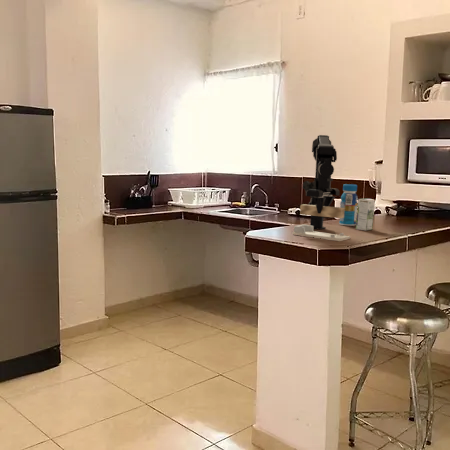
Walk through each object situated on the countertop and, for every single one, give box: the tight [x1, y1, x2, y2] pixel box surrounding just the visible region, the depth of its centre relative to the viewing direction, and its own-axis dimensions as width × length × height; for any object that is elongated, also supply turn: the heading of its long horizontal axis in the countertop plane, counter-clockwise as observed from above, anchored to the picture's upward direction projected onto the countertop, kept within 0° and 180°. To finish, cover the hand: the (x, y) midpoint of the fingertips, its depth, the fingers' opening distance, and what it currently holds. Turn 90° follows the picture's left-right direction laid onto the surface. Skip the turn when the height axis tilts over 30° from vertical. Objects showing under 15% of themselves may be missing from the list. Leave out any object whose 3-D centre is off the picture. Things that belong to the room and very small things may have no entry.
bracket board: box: [292, 224, 351, 242], centre depth 233 cm, size 10×22×4 cm, turn 51°
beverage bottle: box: [338, 183, 359, 227], centre depth 273 cm, size 8×8×20 cm
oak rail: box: [299, 203, 345, 219], centre depth 232 cm, size 18×4×4 cm, turn 60°
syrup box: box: [355, 198, 376, 231], centre depth 258 cm, size 6×6×14 cm
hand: (321, 213), depth 232 cm, fingers closed on oak rail, 4 cm apart
